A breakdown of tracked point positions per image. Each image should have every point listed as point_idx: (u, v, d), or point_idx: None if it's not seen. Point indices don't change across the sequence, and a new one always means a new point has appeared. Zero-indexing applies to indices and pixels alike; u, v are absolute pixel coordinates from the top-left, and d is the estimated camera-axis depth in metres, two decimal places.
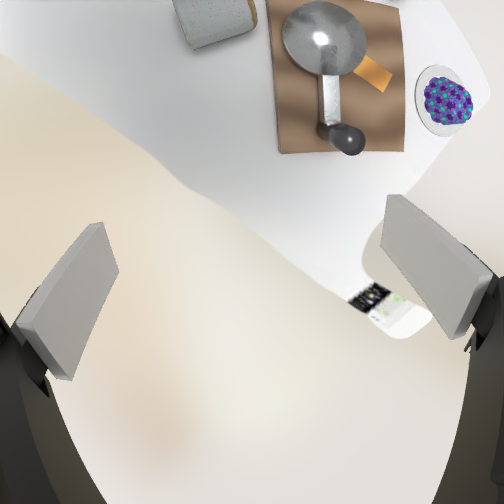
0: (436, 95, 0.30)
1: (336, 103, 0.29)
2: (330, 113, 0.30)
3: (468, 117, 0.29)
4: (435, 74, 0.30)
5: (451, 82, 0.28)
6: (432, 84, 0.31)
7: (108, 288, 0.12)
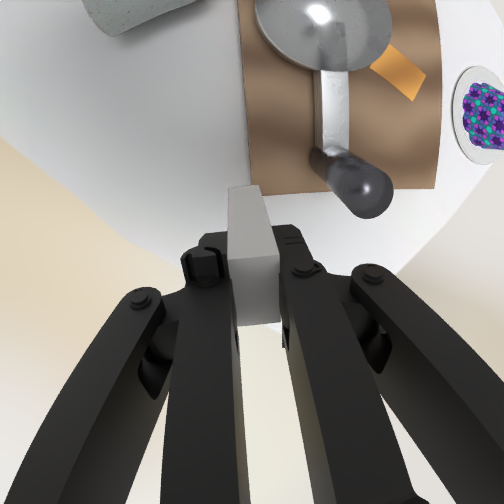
0: (481, 109, 0.19)
1: (343, 117, 0.18)
2: (332, 134, 0.19)
3: None
4: (476, 79, 0.19)
5: (498, 92, 0.17)
6: (473, 92, 0.19)
7: None
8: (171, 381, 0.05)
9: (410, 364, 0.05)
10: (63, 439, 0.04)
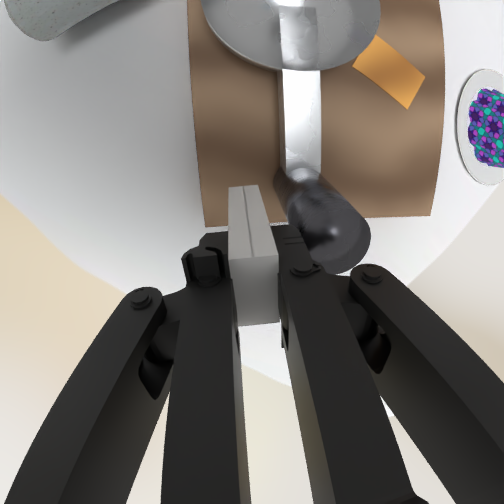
0: (491, 119, 0.15)
1: (313, 131, 0.14)
2: (299, 153, 0.15)
3: None
4: (486, 84, 0.16)
5: None
6: (482, 99, 0.16)
7: None
8: (172, 381, 0.05)
9: (409, 364, 0.05)
10: (63, 438, 0.04)
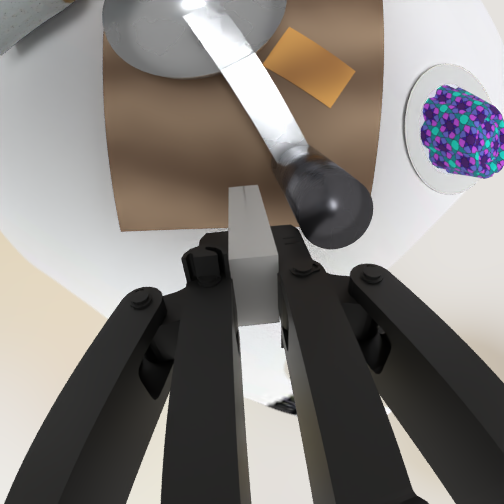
0: (446, 116, 0.16)
1: (280, 111, 0.14)
2: (278, 138, 0.14)
3: (498, 168, 0.15)
4: (449, 80, 0.16)
5: (477, 98, 0.14)
6: (440, 96, 0.16)
7: None
8: (172, 381, 0.05)
9: (409, 364, 0.05)
10: (64, 438, 0.04)
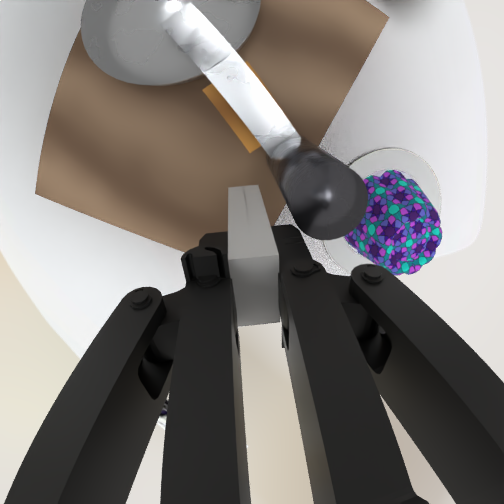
0: (378, 199, 0.19)
1: (268, 105, 0.14)
2: (269, 133, 0.14)
3: (410, 271, 0.19)
4: (404, 168, 0.20)
5: (423, 197, 0.19)
6: (385, 179, 0.20)
7: None
8: (172, 381, 0.05)
9: (410, 364, 0.05)
10: (63, 439, 0.04)
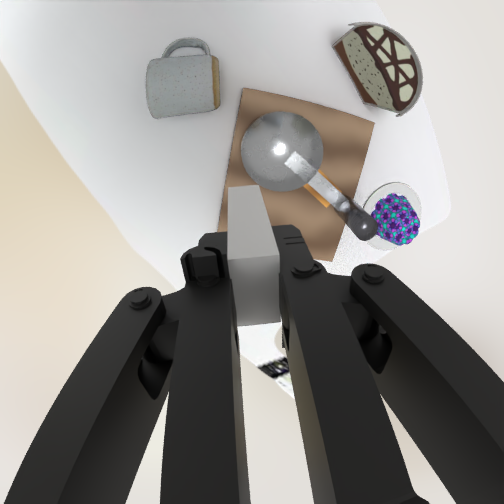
0: (385, 211, 0.40)
1: (334, 191, 0.36)
2: (336, 201, 0.36)
3: (407, 242, 0.40)
4: (397, 191, 0.41)
5: (408, 205, 0.39)
6: (388, 199, 0.41)
7: None
8: (171, 381, 0.05)
9: (410, 364, 0.05)
10: (63, 438, 0.04)
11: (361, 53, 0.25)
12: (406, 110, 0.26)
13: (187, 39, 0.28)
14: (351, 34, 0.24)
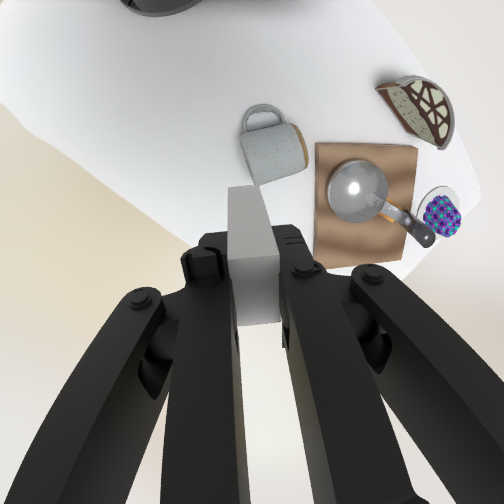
0: (435, 212, 0.46)
1: (398, 212, 0.43)
2: (401, 218, 0.44)
3: (453, 233, 0.45)
4: (440, 193, 0.46)
5: (450, 204, 0.45)
6: (434, 201, 0.47)
7: None
8: (171, 381, 0.05)
9: (410, 364, 0.05)
10: (63, 438, 0.04)
11: (406, 102, 0.32)
12: (445, 145, 0.32)
13: (259, 107, 0.37)
14: (397, 88, 0.30)
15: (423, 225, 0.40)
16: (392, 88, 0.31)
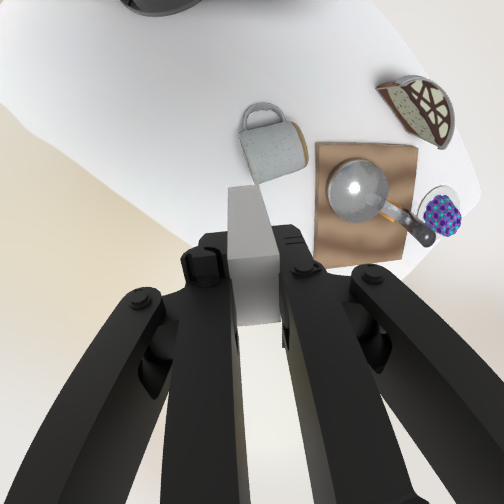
0: (435, 211, 0.46)
1: (399, 211, 0.43)
2: (401, 218, 0.44)
3: (453, 233, 0.45)
4: (441, 192, 0.46)
5: (450, 203, 0.45)
6: (435, 200, 0.46)
7: None
8: (171, 381, 0.05)
9: (410, 364, 0.05)
10: (63, 438, 0.04)
11: (406, 102, 0.32)
12: (445, 145, 0.32)
13: (259, 105, 0.36)
14: (397, 88, 0.30)
15: (423, 224, 0.40)
16: (392, 88, 0.31)
